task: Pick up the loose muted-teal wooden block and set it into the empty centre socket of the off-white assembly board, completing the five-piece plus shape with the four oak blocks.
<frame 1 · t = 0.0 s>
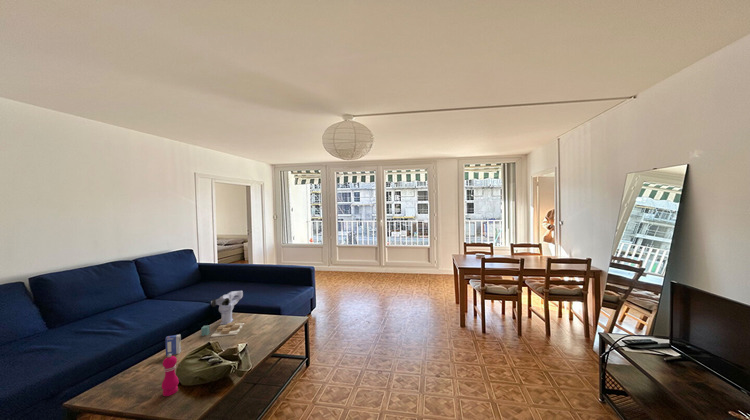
hand: (217, 304, 215), 22 cm above the table, tool horizontal, fingers open, 7 cm apart
board: (228, 330, 218), on the table
piece: (205, 334, 211), on the table
pepper mill: (170, 392, 144), on the table
walkman: (173, 354, 183), on the table
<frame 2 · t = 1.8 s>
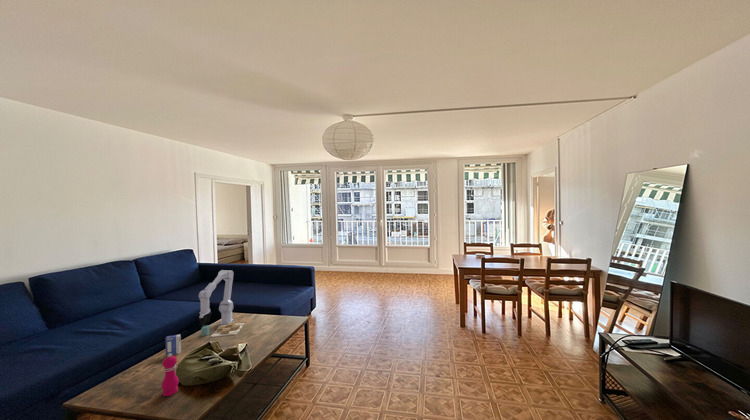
hand: (205, 324, 211), 8 cm above the table, tool pointing down, fingers open, 7 cm apart
nothing on the table moved.
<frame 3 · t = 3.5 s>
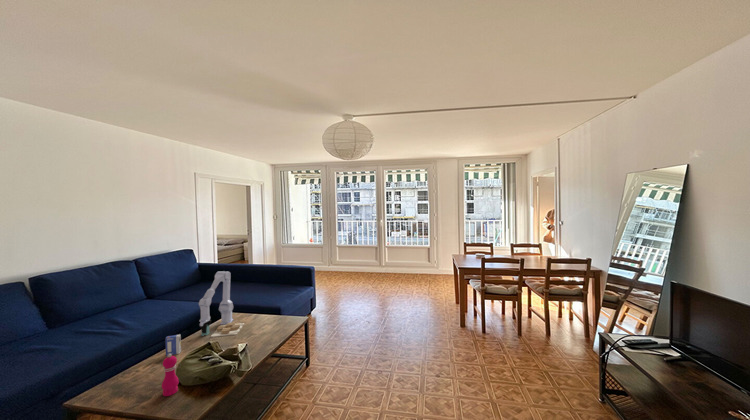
hand: (205, 331, 211), 2 cm above the table, tool pointing down, fingers closed on piece, 4 cm apart
piece: (205, 334, 211), on the table, touching gripper
everything else where it was.
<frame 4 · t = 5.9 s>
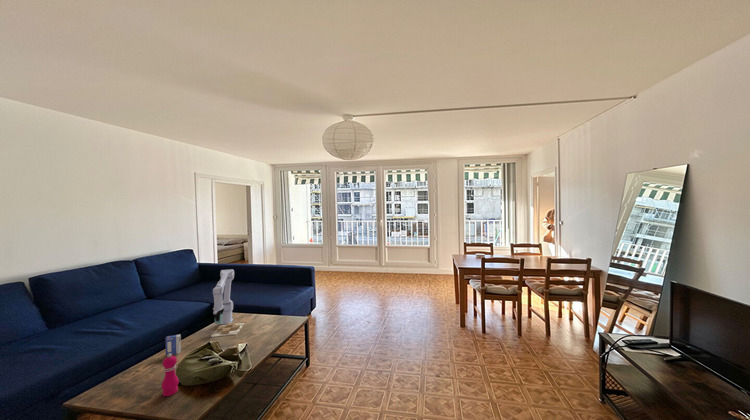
hand: (218, 319, 215), 9 cm above the table, tool pointing down, fingers closed on piece, 4 cm apart
piece: (218, 322, 215), point 7 cm above the table, touching gripper
everything else where it was.
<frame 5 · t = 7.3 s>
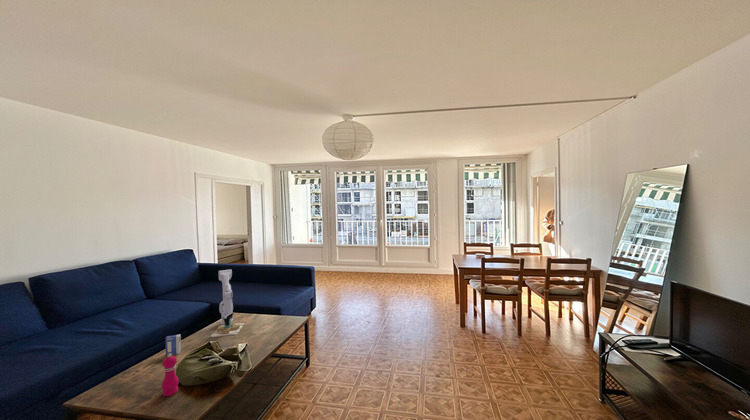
hand: (228, 324, 218), 5 cm above the table, tool pointing down, fingers closed on piece, 4 cm apart
piece: (228, 326, 218), point 3 cm above the table, touching gripper
everything else where it was.
when the fingers open (4 cm above the table, at t = 8.3 s): piece drops 1 cm, resting on board.
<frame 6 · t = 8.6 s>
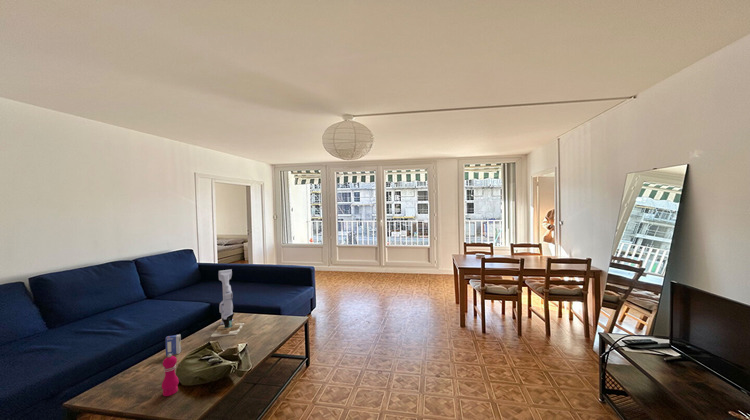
hand: (228, 325, 218), 4 cm above the table, tool pointing down, fingers open, 7 cm apart
piece: (228, 329, 218), point 1 cm above the table, touching board
everything else where it was.
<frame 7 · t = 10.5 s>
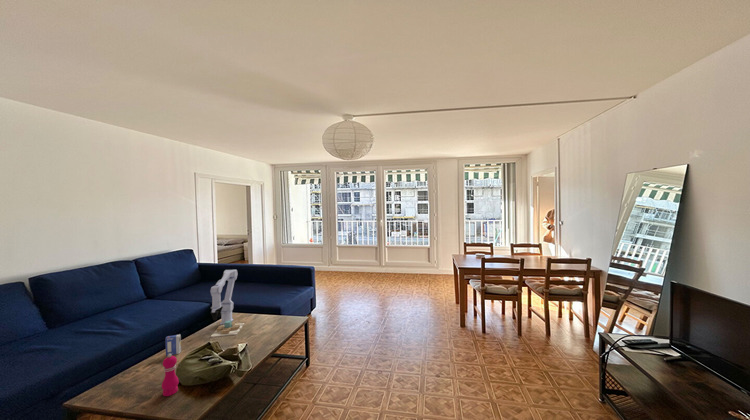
hand: (216, 318, 219), 9 cm above the table, tool pointing down, fingers open, 7 cm apart
nothing on the table moved.
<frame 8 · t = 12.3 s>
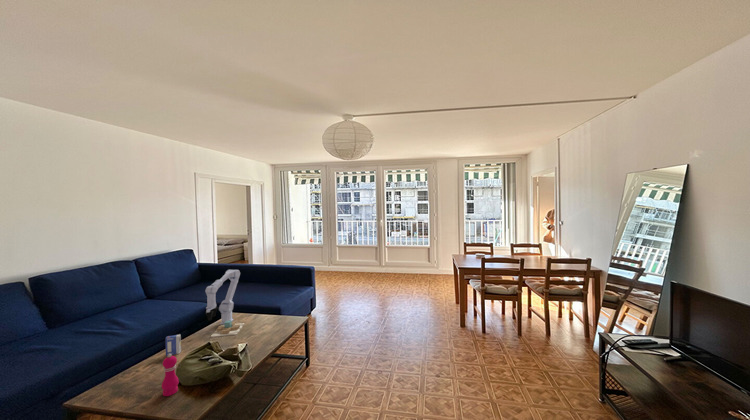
hand: (211, 318, 219), 9 cm above the table, tool pointing down, fingers open, 7 cm apart
nothing on the table moved.
at the end: piece 0.2 cm off-centre on the board, point 0.8 cm above the board's base; piece tilted 0°; the gripper is holding nothing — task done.
